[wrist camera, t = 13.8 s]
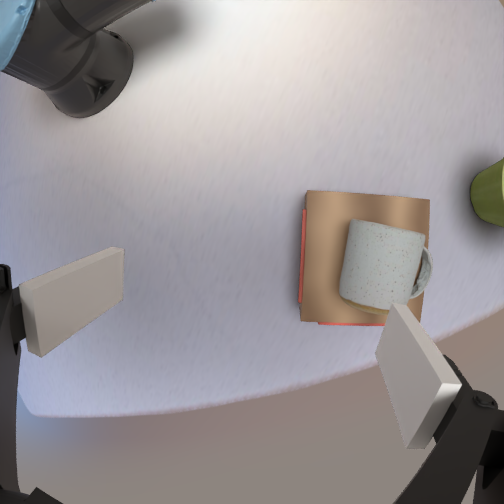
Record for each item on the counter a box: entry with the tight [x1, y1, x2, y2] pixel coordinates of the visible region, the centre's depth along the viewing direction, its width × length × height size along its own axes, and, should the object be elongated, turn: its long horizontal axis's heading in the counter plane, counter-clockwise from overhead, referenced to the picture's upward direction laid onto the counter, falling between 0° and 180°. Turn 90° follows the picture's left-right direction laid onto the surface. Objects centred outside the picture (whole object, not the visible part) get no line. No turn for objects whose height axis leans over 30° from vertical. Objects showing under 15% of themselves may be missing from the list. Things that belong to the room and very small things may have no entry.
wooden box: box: [298, 190, 430, 326], centre depth 36 cm, size 14×14×6 cm
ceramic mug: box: [339, 219, 433, 315], centre depth 29 cm, size 11×8×8 cm
